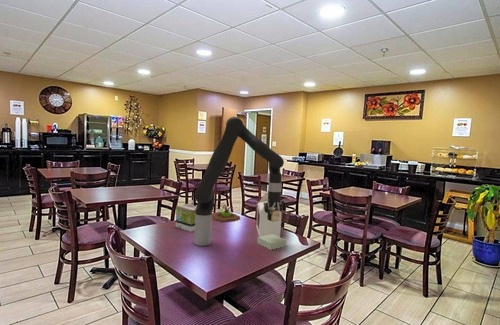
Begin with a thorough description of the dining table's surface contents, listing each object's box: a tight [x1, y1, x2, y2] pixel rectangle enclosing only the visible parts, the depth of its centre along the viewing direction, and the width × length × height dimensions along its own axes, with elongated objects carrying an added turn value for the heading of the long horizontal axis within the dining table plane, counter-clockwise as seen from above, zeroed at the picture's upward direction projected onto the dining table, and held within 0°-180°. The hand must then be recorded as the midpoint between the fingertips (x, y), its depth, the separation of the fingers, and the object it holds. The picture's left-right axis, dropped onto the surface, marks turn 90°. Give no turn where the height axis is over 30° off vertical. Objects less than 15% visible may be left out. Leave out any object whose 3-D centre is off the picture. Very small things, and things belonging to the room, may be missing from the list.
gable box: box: [255, 192, 283, 237], centre depth 190 cm, size 22×13×28 cm, turn 3°
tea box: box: [175, 203, 197, 233], centre depth 191 cm, size 15×10×15 cm, turn 55°
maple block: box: [267, 209, 280, 222], centre depth 167 cm, size 5×5×6 cm
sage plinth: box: [256, 234, 287, 251], centre depth 168 cm, size 12×12×4 cm
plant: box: [212, 204, 241, 223], centre depth 219 cm, size 20×20×11 cm
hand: (273, 219), depth 167 cm, fingers closed on maple block, 5 cm apart
